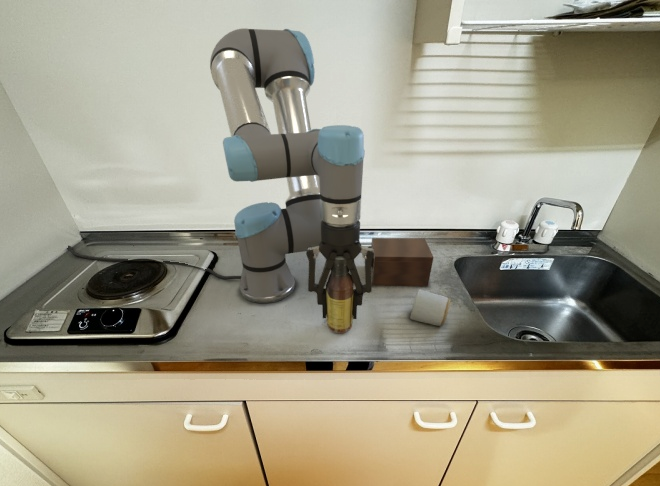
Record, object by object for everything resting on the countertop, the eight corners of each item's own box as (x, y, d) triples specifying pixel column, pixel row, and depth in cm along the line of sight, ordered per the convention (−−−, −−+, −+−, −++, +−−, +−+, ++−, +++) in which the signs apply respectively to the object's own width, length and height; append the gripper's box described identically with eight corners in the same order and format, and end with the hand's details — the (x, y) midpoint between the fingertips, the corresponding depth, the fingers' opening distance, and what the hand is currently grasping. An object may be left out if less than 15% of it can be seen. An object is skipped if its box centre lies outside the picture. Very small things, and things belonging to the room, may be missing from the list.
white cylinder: (442, 333, 75) (449, 307, 70) (408, 325, 77) (413, 299, 73) (447, 308, 83) (453, 283, 78) (416, 301, 85) (420, 277, 81)
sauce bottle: (337, 314, 79) (339, 242, 67) (357, 325, 76) (363, 251, 64) (320, 327, 75) (319, 253, 63) (340, 339, 72) (343, 264, 60)
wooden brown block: (372, 285, 92) (374, 256, 86) (370, 265, 101) (371, 237, 96) (427, 286, 91) (433, 257, 86) (420, 265, 101) (424, 238, 95)
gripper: (286, 227, 57) (296, 324, 70) (394, 228, 56) (382, 326, 70) (292, 212, 63) (300, 304, 76) (389, 213, 62) (379, 305, 76)
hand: (339, 314), depth 73 cm, fingers closed on sauce bottle, 6 cm apart
